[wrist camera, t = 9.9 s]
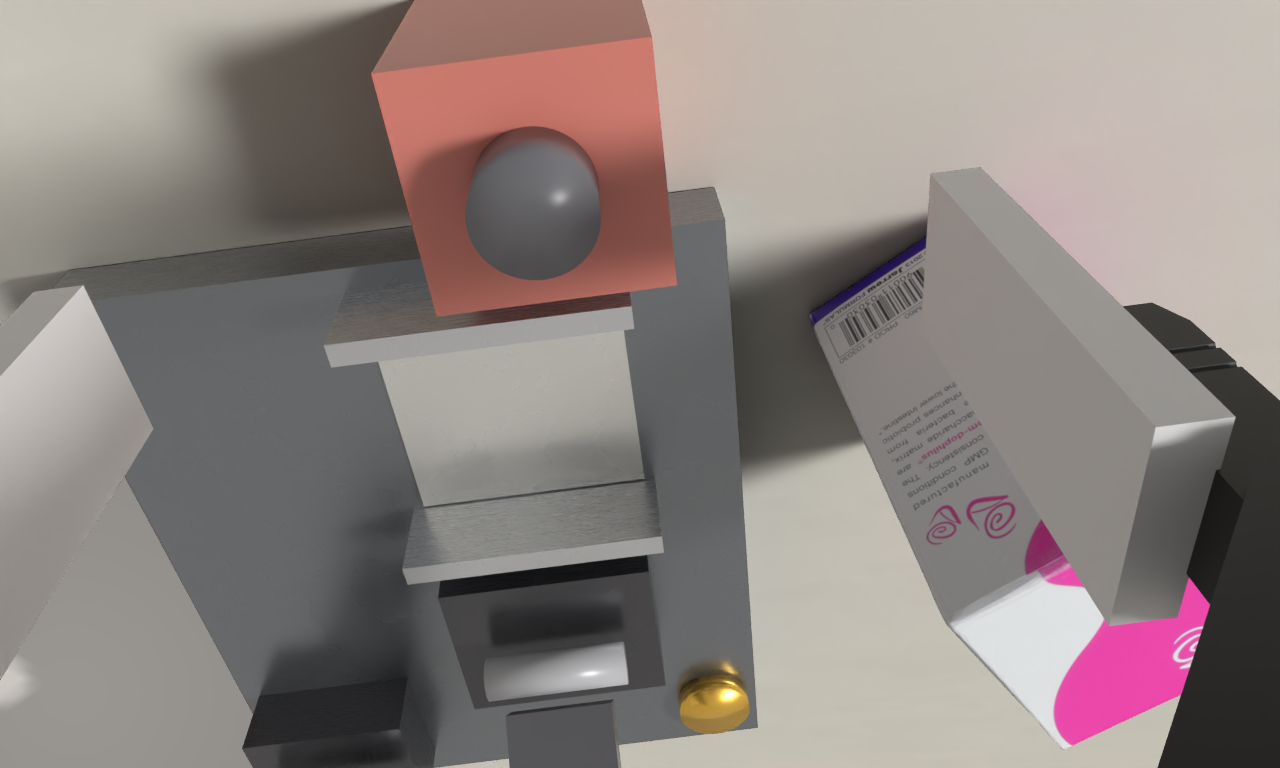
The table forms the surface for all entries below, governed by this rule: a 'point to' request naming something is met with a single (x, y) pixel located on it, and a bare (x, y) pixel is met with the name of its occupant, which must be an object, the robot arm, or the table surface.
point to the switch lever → (562, 735)
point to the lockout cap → (528, 149)
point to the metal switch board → (441, 489)
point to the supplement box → (988, 525)
